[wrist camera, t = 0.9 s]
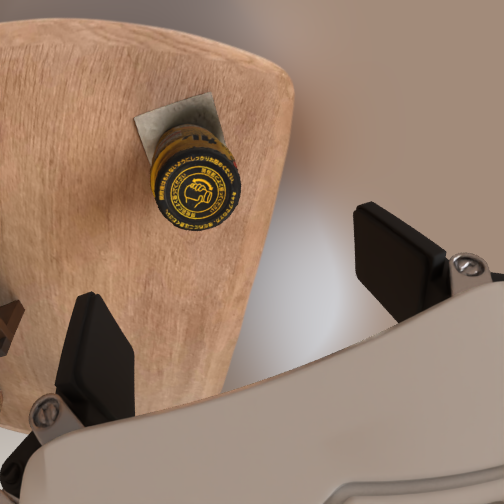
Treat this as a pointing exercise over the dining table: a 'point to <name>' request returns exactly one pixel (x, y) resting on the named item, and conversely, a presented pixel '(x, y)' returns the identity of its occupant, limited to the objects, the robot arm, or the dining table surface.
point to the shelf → (9, 324)
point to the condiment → (190, 163)
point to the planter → (1, 399)
